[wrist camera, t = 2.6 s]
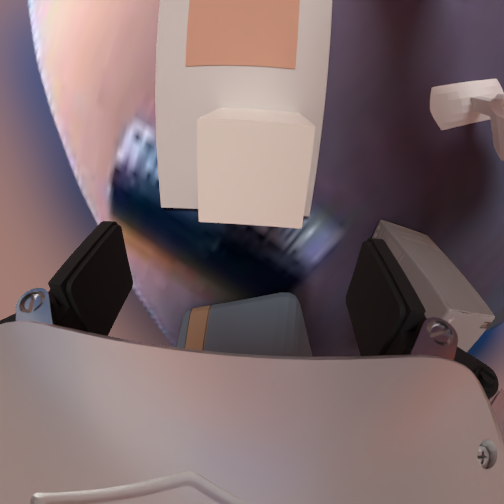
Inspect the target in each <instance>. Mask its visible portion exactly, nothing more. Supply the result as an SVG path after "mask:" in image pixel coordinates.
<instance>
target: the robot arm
mask: <svg viewBox="0 0 504 504" xmlns="http://www.w3.org/2000/svg"><path fill="white" fill-rule="evenodd" d="M48 284H49V287H50V291H49V292H47V291H46V290H45V289H43V288H35V289H31V290H30V291H27V292H26V293H25V294H23V295H22V296H21V297H20V299H19V300H18V302H17V304H16V314H13V315H11V316H9V317H7V318H5V319H3V320H1V321H0V504H504V390H503V389H501V390H500V391H498V379H497V376H496V374H495V373H494V371H493V370H492V369H491V368H490V367H488V366H487V365H486V364H484V363H482V362H481V361H479V360H478V359H476V358H475V357H473V356H472V355H470V354H468V353H467V352H465V351H464V350H462V349H460V348H459V347H457V344H458V336H457V332H456V331H455V329H454V327H453V326H452V325H451V324H450V323H448V322H447V321H445V320H443V319H441V318H437V317H431V318H428V319H427V318H426V316H425V315H424V313H425V312H426V310H425V308H424V306H423V304H422V303H421V301H420V299H419V297H418V295H417V294H416V292H415V290H414V288H413V286H412V285H411V283H410V281H409V280H408V278H407V276H406V274H405V273H404V271H403V269H402V268H401V266H400V265H399V263H398V261H397V260H396V258H395V256H394V255H393V253H392V252H391V250H390V249H389V247H388V245H387V244H386V242H385V241H384V240H383V239H377V238H369V239H368V240H367V241H364V242H363V244H362V247H361V250H360V254H359V257H358V260H357V264H356V267H355V270H354V273H353V277H352V280H351V283H350V286H349V289H348V292H347V295H346V305H347V308H348V311H349V315H350V318H351V321H352V325H353V328H354V332H355V336H356V339H357V343H358V347H359V350H360V354H361V356H350V357H295V356H268V355H250V354H236V353H224V352H213V351H203V350H194V349H186V348H178V347H170V346H162V345H156V344H150V343H143V342H137V341H131V340H125V339H120V338H114V337H110V336H108V334H109V332H110V329H111V328H112V326H113V323H114V322H115V320H116V318H117V316H118V313H119V312H120V310H121V308H122V306H123V304H124V302H125V300H126V298H127V296H128V294H129V292H130V291H131V289H132V285H133V280H132V275H131V271H130V267H129V262H128V258H127V253H126V248H125V244H124V239H123V233H122V229H121V226H119V225H118V224H117V223H116V222H110V221H103V222H101V223H100V224H99V225H98V226H97V227H96V229H94V230H93V232H92V233H91V234H90V235H89V236H88V237H87V238H86V239H85V240H84V241H83V242H82V244H81V245H80V246H79V247H78V248H77V249H76V250H75V251H74V253H73V254H72V255H71V256H70V257H69V258H68V259H67V261H66V262H65V263H64V264H63V265H62V267H61V268H60V269H59V270H58V271H57V273H56V274H55V275H54V277H52V279H51V280H50V281H49V283H48Z"/></svg>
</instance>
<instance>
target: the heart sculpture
mask: <svg viewBox="0 0 504 504" xmlns="http://www.w3.org/2000/svg"><path fill="white" fill-rule="evenodd" d="M430 112H431V114H432V116H433V118H434V120H435V121H436V123H437V125H438V126H439V127H440V129H441V130H446V129H450V128H454V127H458V126H462V125H467V124H471V123H475V122H480V121H484V120H489V119H490V120H491V128H492V136H493V146H494V148H495V150H496V152H497V154H498V156H499V158H500V159H501V160H502V161H504V93H503V90H502V88H501V86H500V84H499V82H498V80H497V79H488V80H478V81H469V82H462V83H455V84H448V85H442V86H436V87H432V89H431V95H430Z"/></svg>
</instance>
